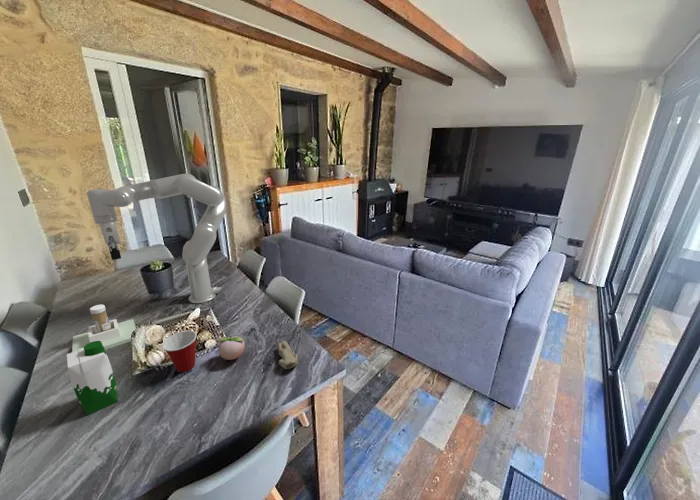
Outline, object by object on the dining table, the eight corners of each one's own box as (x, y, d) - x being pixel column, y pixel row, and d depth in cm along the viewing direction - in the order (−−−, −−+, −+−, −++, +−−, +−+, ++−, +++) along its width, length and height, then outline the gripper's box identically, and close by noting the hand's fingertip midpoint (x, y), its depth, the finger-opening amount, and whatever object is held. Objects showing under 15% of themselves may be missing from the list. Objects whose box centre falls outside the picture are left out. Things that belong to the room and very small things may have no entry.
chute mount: (133, 321, 130) (131, 311, 128) (138, 338, 118) (135, 327, 117) (74, 339, 117) (69, 328, 115) (73, 360, 106) (68, 348, 104)
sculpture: (272, 352, 113) (281, 375, 100) (271, 342, 112) (281, 363, 99) (290, 348, 116) (301, 370, 103) (289, 338, 115) (301, 358, 102)
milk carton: (122, 401, 89) (105, 348, 82) (83, 419, 83) (61, 363, 76) (117, 385, 95) (101, 334, 88) (81, 401, 89) (60, 348, 82)
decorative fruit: (218, 368, 103) (214, 345, 100) (221, 354, 110) (217, 332, 107) (245, 364, 105) (242, 341, 102) (246, 350, 113) (244, 328, 110)
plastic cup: (171, 360, 107) (164, 333, 103) (203, 353, 110) (198, 327, 106) (164, 381, 97) (157, 352, 93) (200, 373, 101) (194, 345, 97)
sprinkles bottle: (112, 336, 117) (103, 307, 112) (98, 340, 114) (88, 311, 110) (113, 331, 120) (105, 302, 116) (99, 334, 118) (90, 305, 114)
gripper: (118, 221, 119) (128, 259, 125) (115, 214, 131) (124, 249, 137) (94, 223, 115) (106, 263, 120) (93, 216, 127) (104, 252, 132)
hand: (115, 255), depth 129 cm, fingers open, 9 cm apart
